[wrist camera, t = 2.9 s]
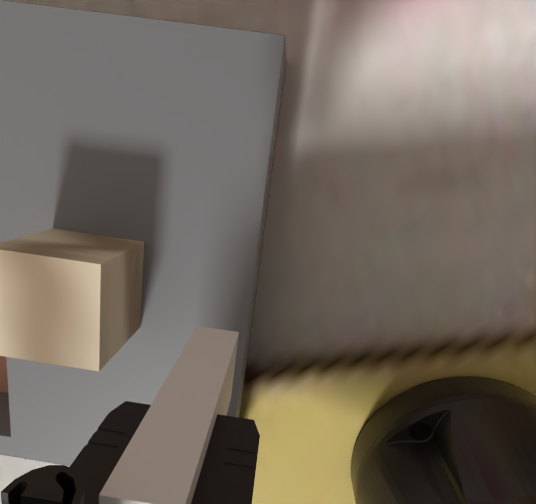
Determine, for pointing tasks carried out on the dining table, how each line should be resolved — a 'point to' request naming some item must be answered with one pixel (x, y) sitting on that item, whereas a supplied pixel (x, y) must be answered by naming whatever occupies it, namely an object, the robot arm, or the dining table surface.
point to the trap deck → (134, 191)
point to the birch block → (69, 297)
